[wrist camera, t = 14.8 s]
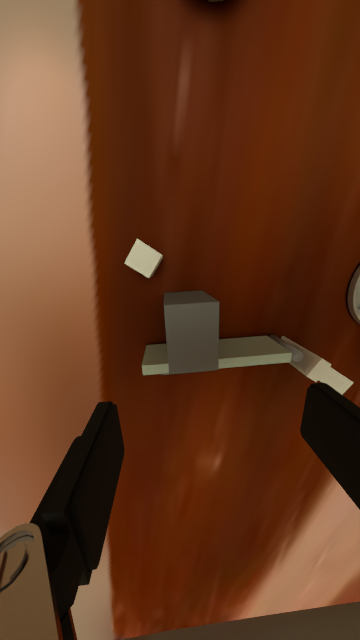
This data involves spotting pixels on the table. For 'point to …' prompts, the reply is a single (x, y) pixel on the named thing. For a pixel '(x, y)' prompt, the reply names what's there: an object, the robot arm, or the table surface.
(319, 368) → the pale rectangular blocks
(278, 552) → the table surface
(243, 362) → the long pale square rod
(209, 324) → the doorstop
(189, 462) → the table surface
